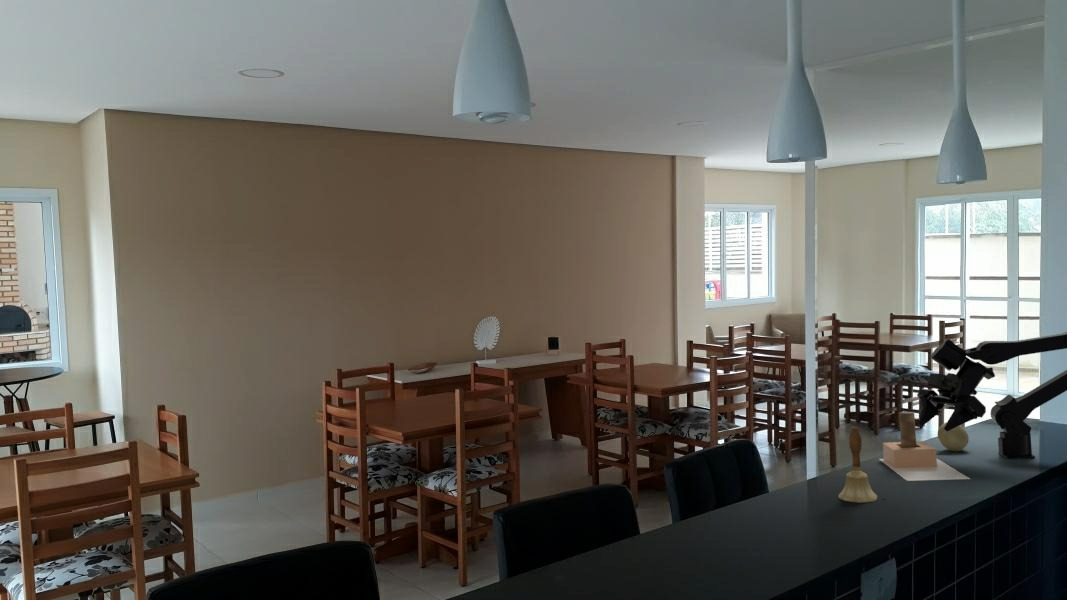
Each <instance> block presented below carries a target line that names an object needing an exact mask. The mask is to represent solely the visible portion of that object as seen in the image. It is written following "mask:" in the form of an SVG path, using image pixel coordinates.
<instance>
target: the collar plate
mask: <svg viewBox="0 0 1067 600" xmlns="http://www.w3.org/2000/svg"><path fill="white" fill-rule="evenodd" d="M882 450H883V451H882V453H883V458H878V460H879V461H881V462H882V463H883V464H884V465H886V466H887V467H888V468H890V469H891V470H892V471H893V472H895V473H896V474H898V475H899V476H900V477H902V478H903V480H905V481H906V482H917V481H918V482H919V481H921V482H922V481H947V480H949V481H952V480H971V478H970V477H968V476H966V475H965V474H964V473H961V472H960V471H958V470H956V469H955V468H954V467H952V466H950V465H949V464H947V463H945V462H943V461H942V460H940V459H939V458H938V457H937V449H936V448H935V447H934V446H932V445H930V444H928V443H927V442H925V441H923V440H922V441H921V440H920V441H917V440H916V447H915V448H901V441H897V442H896V441H893V442H889V441H888V442H882Z"/></svg>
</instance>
